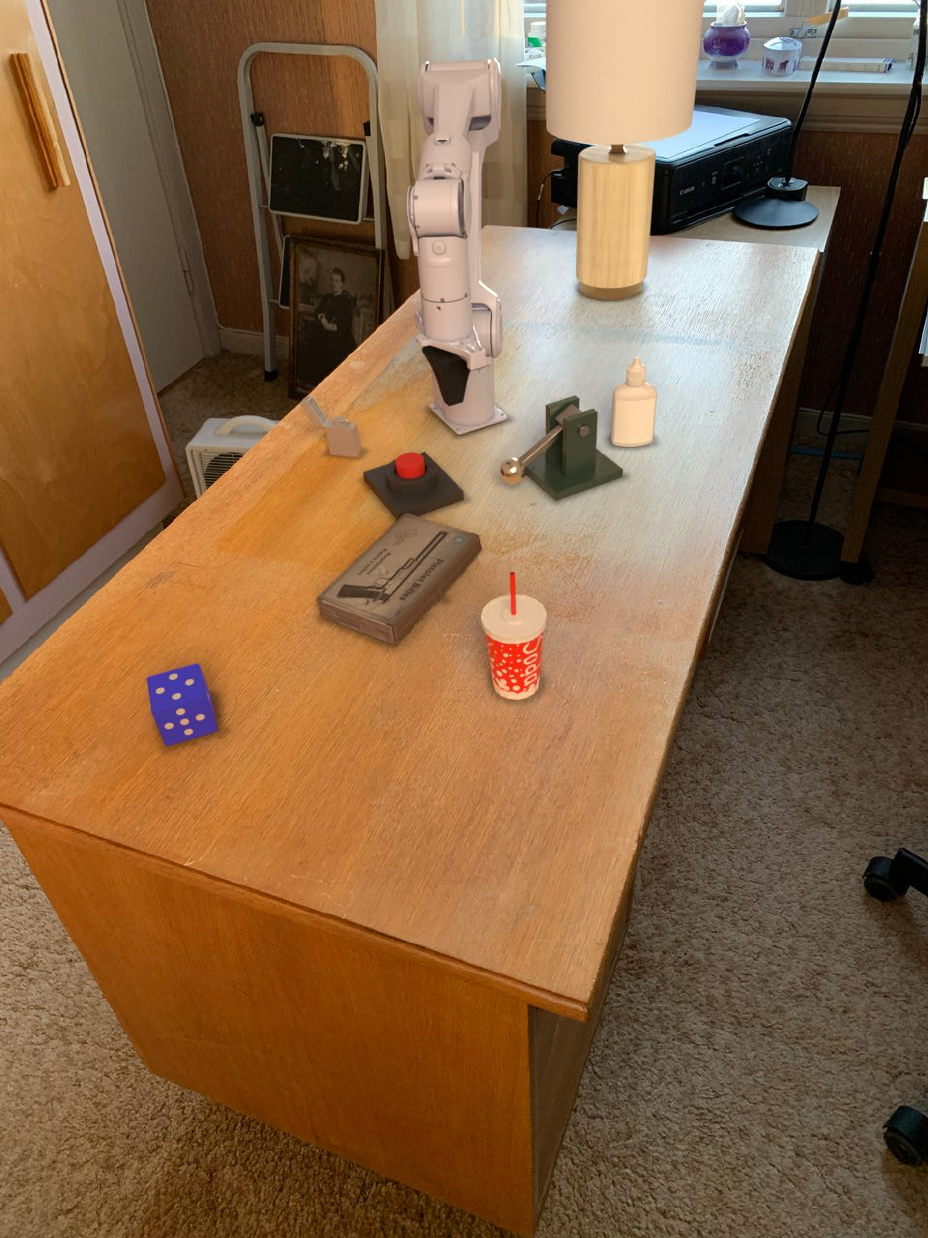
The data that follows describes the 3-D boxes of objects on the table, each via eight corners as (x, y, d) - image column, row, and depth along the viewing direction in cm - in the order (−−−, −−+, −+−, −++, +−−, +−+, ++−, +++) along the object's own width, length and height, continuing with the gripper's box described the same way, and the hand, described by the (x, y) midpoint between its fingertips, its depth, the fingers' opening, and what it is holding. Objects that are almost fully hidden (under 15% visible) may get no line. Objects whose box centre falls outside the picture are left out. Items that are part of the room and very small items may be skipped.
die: (218, 732, 88) (205, 696, 85) (166, 747, 87) (150, 712, 84) (211, 697, 92) (198, 661, 88) (161, 711, 91) (146, 676, 87)
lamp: (586, 255, 173) (595, -31, 143) (698, 276, 162) (732, -28, 133) (521, 298, 160) (515, -6, 130) (638, 325, 149) (660, 0, 119)
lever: (514, 493, 113) (503, 477, 111) (501, 481, 115) (491, 465, 113) (591, 427, 113) (582, 410, 111) (577, 416, 115) (568, 399, 113)
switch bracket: (555, 501, 113) (556, 435, 107) (519, 468, 119) (517, 404, 113) (622, 476, 116) (626, 411, 110) (583, 445, 123) (585, 382, 116)
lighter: (361, 450, 125) (353, 397, 120) (357, 457, 124) (348, 404, 119) (314, 445, 127) (303, 393, 122) (309, 452, 126) (298, 400, 120)
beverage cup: (501, 713, 88) (495, 603, 78) (475, 673, 92) (467, 564, 82) (558, 692, 89) (559, 582, 80) (529, 653, 93) (527, 544, 84)
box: (484, 554, 105) (481, 532, 103) (397, 648, 95) (393, 626, 93) (408, 530, 110) (404, 509, 108) (318, 617, 100) (312, 596, 98)
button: (392, 469, 116) (390, 457, 115) (417, 461, 117) (416, 449, 116) (404, 482, 113) (402, 470, 112) (430, 473, 115) (428, 462, 113)
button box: (364, 480, 119) (361, 459, 117) (425, 460, 122) (423, 439, 120) (399, 522, 112) (396, 501, 110) (464, 499, 115) (462, 478, 113)
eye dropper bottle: (645, 453, 120) (652, 369, 112) (605, 444, 122) (609, 361, 114) (657, 437, 123) (664, 353, 115) (617, 429, 125) (622, 346, 117)
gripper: (387, 281, 107) (399, 388, 116) (443, 322, 97) (451, 435, 106) (441, 268, 109) (449, 373, 118) (500, 307, 99) (504, 419, 108)
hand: (453, 402), depth 112 cm, fingers closed
